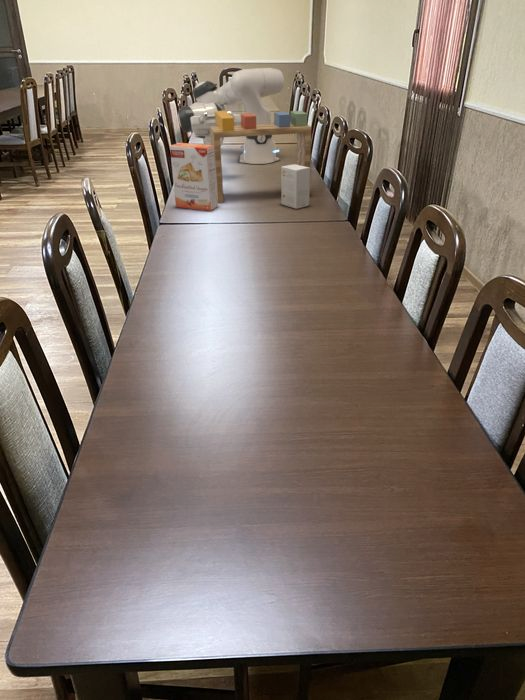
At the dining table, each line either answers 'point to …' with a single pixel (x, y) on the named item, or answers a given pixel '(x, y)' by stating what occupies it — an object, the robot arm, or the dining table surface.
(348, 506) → the dining table surface
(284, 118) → the block
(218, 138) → the shelf
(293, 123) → the block
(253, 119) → the block
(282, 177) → the small box
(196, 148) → the cracker box
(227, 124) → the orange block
